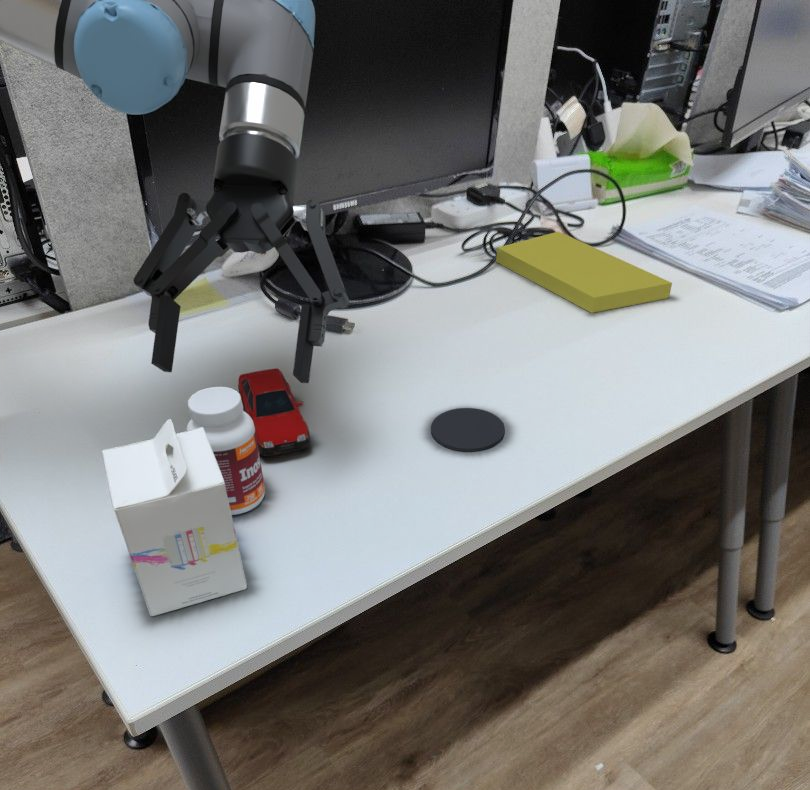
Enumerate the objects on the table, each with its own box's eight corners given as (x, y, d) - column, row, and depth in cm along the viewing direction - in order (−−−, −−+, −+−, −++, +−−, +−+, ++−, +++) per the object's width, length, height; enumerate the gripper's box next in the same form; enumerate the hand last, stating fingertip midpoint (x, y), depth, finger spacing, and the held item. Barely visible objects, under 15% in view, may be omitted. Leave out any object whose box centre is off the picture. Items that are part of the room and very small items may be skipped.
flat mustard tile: (496, 261, 118) (603, 319, 102) (497, 247, 116) (606, 303, 101) (557, 245, 122) (668, 298, 107) (558, 231, 121) (672, 282, 105)
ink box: (134, 555, 69) (91, 429, 60) (226, 529, 71) (198, 405, 62) (150, 619, 63) (105, 491, 54) (249, 589, 65) (222, 461, 56)
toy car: (257, 467, 78) (250, 426, 75) (235, 398, 89) (227, 360, 85) (318, 454, 80) (313, 414, 77) (289, 388, 90) (283, 350, 87)
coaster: (417, 423, 84) (417, 420, 84) (477, 403, 87) (477, 400, 87) (456, 460, 79) (456, 456, 78) (519, 437, 82) (519, 434, 81)
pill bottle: (259, 518, 72) (240, 419, 65) (195, 517, 73) (169, 418, 65) (271, 479, 77) (255, 382, 70) (211, 477, 77) (189, 381, 70)
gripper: (395, 179, 74) (369, 394, 73) (153, 169, 77) (125, 374, 76) (381, 132, 66) (352, 372, 65) (115, 124, 70) (83, 351, 69)
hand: (230, 374), depth 71 cm, fingers open, 13 cm apart
